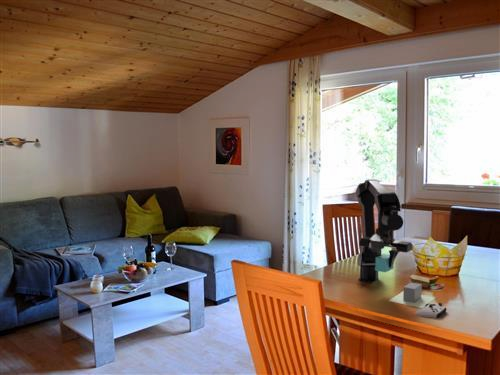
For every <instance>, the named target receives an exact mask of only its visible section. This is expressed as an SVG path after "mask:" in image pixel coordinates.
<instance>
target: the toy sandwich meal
mask: <svg viewBox="0 0 500 375" xmlns="http://www.w3.org/2000/svg"><path fill="white" fill-rule="evenodd" d="M438 280H439V276H436V277H432V278H429V277H426V276H421V275H416V274H411V275H410V276H409V279H408V282H407V285H408V284H409V283H411V282H412V283H417V284H422V291H425V290H427V292H428V291H431V292H434V291H435V292H437V291H438V292H439V291H443V290H444V289H445V284H444V283H438V282H437V281H438ZM429 288H430V290H429Z"/></svg>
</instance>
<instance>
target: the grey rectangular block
mask: <svg viewBox="0 0 500 375" xmlns="http://www.w3.org/2000/svg"><path fill="white" fill-rule="evenodd" d="M422 289H423V288H422V284H417V283H412V282H411V283H409V284H408V283H407V284H406V285H405V286H403V291H404V294H403V301H408V302H413V303H415V302H416V301H418V300H419V299H420V298H421V295H422V293H423V292H422V291H423V290H422Z"/></svg>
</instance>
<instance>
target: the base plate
mask: <svg viewBox="0 0 500 375" xmlns="http://www.w3.org/2000/svg"><path fill="white" fill-rule="evenodd" d="M403 294H404V290H403V291H401V292H400V293H399V294H397V295H395V296H394V297H392V298H390V299H389V300H388V301H389V302H393V303H397V304H402V305H406V306H409V307H416V308H419V309H422V308H424V307H425V305H426V304H427V303H432V301H433V300H435V299H436V296H430V295H427V294H426V295H425V294H421V298H420V299H419V300H418V301H416V302H415V303H413V302H408V301H403Z"/></svg>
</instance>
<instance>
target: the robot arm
mask: <svg viewBox="0 0 500 375" xmlns="http://www.w3.org/2000/svg"><path fill="white" fill-rule="evenodd" d="M355 195H356V198H357V203H358V204H359V205H360V207H361V214H362V216H361V217H362V230H363V233H362V234H363V237H360V239H359V240H358V246H361V247H360V248H359V249H360V252H359V254H358V256H357V259H356V261H357V263H356V264H357V265H358V266H359V278H358V281H362V282H366V283H374V282H376V281H377V280H379V271H375V266H376V257H378V256H380V255H382V250H383V249H384V248H385V247H387V248H391V249H389V250H388V253H389V254H388V255H390V258H389V268H391V267H392V265H393V263H394V264H395V260H396V258H397V256H398V254H400V252H401V253H408V252H411V251H413V248H414V247H413V243H412V242H410V241H405V240H403V241H402V240H401V241H399V242H395V240H396V239H395V238H394V232H395V231H399V230H401V229H402V227H403V225H404V219H403V217H402V216H401V215H400V214H399V212H401V207H402V205H401V202H400V199H399V197H398V195H397V193H396V192H395V191H394V190H391V189H386V188H385V187H384V185H382V184H381V183H380V180H379V179H377V178H367V179H365V180H364V182H362V183H360V184H359V185H358V186H357V188H356V191H355ZM374 206H376V209H377V228H375V214H374Z"/></svg>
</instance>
